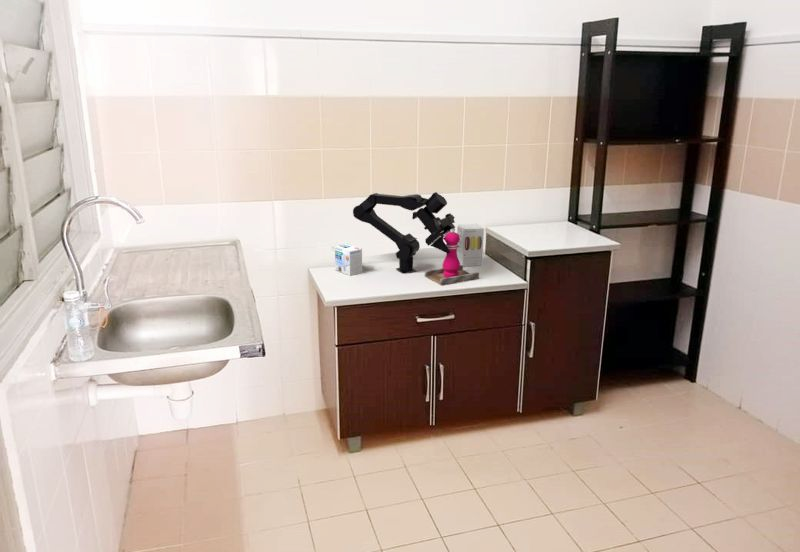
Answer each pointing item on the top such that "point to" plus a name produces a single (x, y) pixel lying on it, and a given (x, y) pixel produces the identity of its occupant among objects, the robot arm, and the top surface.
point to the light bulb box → (348, 259)
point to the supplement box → (470, 244)
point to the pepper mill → (451, 255)
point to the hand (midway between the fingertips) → (453, 250)
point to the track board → (439, 278)
